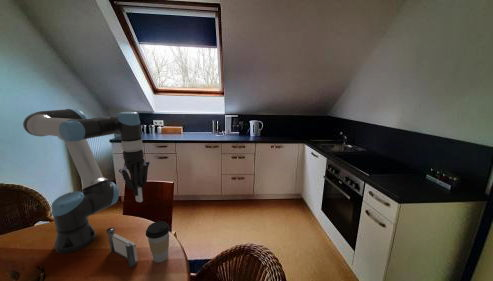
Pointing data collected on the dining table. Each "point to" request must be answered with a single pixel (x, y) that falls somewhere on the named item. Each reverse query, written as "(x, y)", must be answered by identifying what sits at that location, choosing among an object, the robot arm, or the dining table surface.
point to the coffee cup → (158, 240)
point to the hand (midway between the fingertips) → (139, 200)
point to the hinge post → (110, 233)
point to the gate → (123, 245)
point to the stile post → (130, 255)
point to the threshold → (123, 256)
